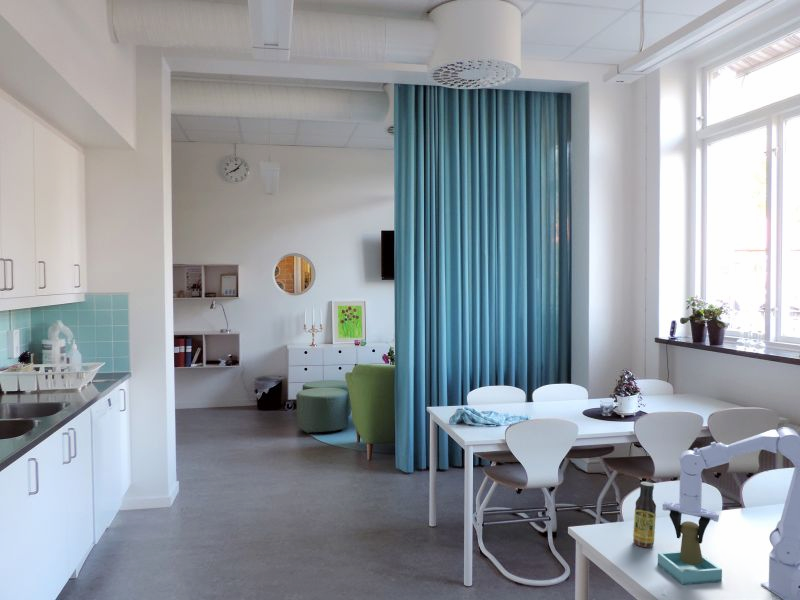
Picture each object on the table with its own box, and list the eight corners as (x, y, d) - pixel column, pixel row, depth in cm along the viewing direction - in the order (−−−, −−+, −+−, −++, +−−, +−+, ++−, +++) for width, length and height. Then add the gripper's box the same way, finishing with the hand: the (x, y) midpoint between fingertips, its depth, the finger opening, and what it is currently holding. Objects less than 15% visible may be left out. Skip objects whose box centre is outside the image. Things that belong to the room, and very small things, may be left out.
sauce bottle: (632, 546, 189) (633, 484, 189) (634, 538, 195) (635, 478, 194) (654, 550, 186) (655, 488, 186) (656, 542, 192) (657, 482, 191)
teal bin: (721, 581, 167) (722, 569, 167) (682, 584, 165) (683, 572, 165) (694, 561, 179) (694, 550, 179) (657, 564, 177) (657, 552, 177)
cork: (705, 565, 170) (704, 528, 169) (683, 565, 171) (681, 529, 170) (698, 553, 176) (697, 518, 175) (677, 553, 177) (675, 518, 176)
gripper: (720, 494, 170) (719, 541, 171) (666, 484, 179) (665, 528, 179) (717, 502, 165) (715, 550, 165) (661, 490, 173) (660, 536, 174)
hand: (689, 539), depth 172 cm, fingers closed on cork, 5 cm apart
